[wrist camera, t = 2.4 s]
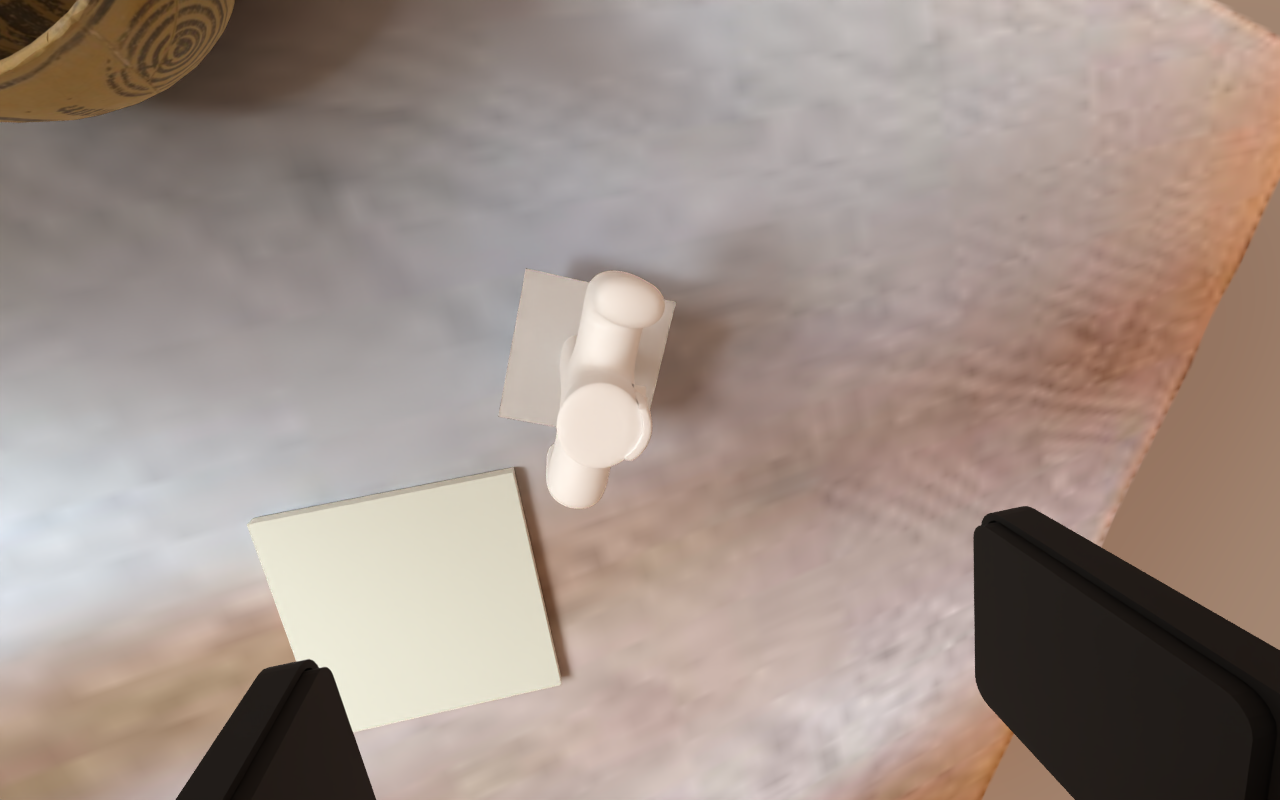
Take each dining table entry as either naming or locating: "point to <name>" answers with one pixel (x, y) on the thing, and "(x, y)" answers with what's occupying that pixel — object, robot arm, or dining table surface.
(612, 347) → the figurine
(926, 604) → the dining table surface
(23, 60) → the tan round basket
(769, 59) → the dining table surface
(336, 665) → the cream board
